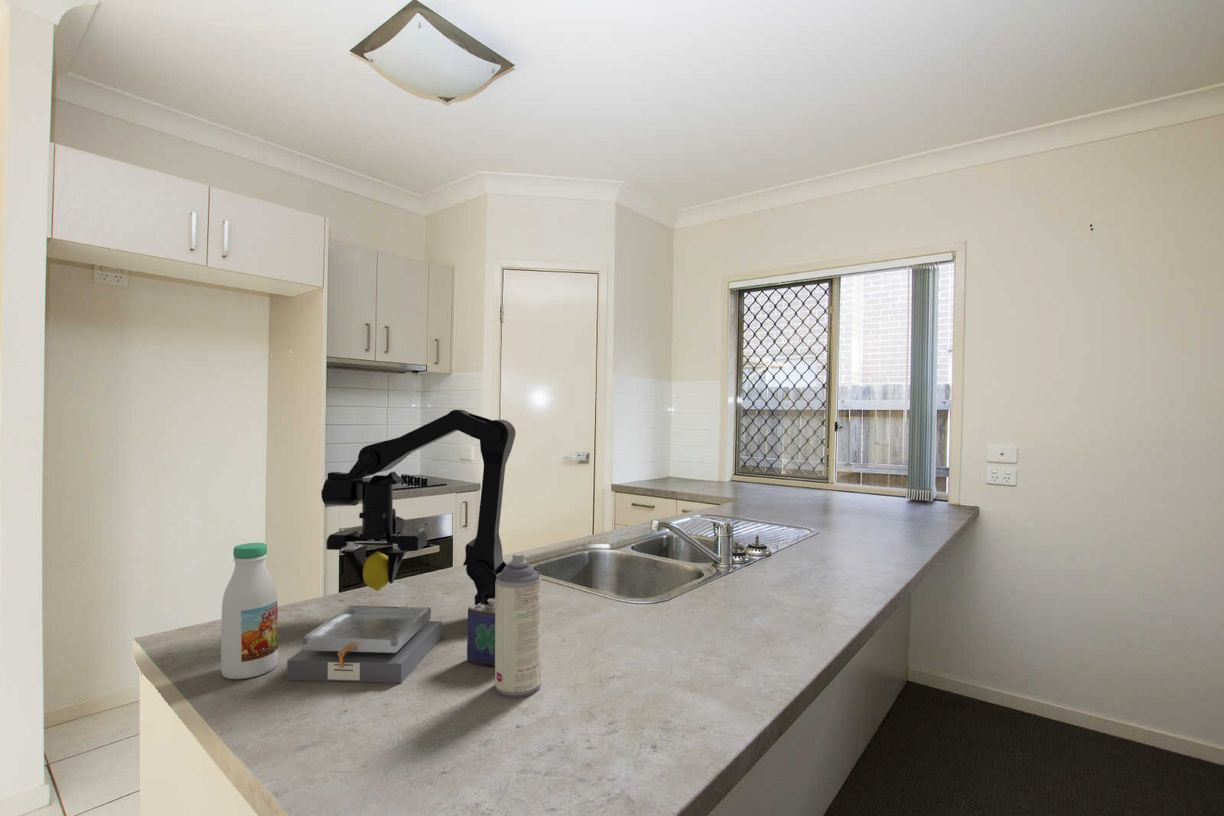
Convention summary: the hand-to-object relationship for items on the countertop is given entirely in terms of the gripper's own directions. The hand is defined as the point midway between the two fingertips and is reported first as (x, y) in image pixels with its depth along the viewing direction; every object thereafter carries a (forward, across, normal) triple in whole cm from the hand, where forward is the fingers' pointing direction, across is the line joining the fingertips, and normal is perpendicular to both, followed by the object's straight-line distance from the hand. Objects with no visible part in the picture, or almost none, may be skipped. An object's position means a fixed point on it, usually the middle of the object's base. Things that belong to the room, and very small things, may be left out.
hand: (377, 582), depth 121 cm
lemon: (+2, 0, 0) cm, 2 cm away
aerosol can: (+7, -35, +29) cm, 46 cm away
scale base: (+6, -8, +20) cm, 22 cm away
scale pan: (+4, -8, +21) cm, 23 cm away
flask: (+7, -29, +21) cm, 36 cm away
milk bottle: (+7, +9, +26) cm, 28 cm away
